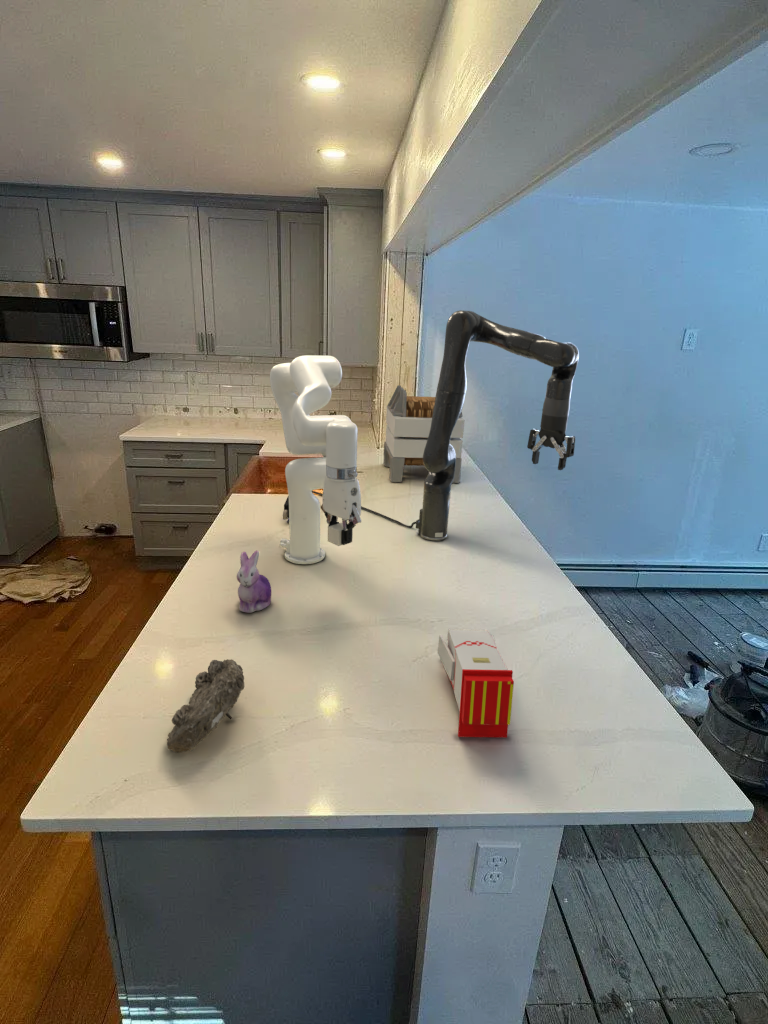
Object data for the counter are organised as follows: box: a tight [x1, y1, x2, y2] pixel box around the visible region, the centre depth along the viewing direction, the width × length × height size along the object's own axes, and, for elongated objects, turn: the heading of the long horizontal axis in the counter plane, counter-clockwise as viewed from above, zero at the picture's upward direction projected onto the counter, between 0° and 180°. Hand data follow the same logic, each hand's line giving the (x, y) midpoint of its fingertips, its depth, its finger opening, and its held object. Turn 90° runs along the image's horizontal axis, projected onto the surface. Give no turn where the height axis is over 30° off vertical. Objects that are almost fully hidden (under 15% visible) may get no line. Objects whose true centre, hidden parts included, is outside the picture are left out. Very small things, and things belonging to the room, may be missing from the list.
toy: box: [437, 628, 515, 738], centre depth 117 cm, size 12×13×30 cm
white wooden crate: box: [383, 384, 465, 484], centre depth 268 cm, size 34×33×41 cm
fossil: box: [166, 658, 245, 754], centre depth 106 cm, size 22×10×15 cm
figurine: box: [236, 550, 272, 614], centre depth 146 cm, size 9×10×15 cm
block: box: [327, 521, 354, 547], centre depth 145 cm, size 4×5×4 cm
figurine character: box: [282, 495, 289, 524], centre depth 208 cm, size 7×8×15 cm
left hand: (339, 539), depth 145 cm, fingers closed on block, 4 cm apart
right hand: (547, 466), depth 172 cm, fingers open, 8 cm apart
